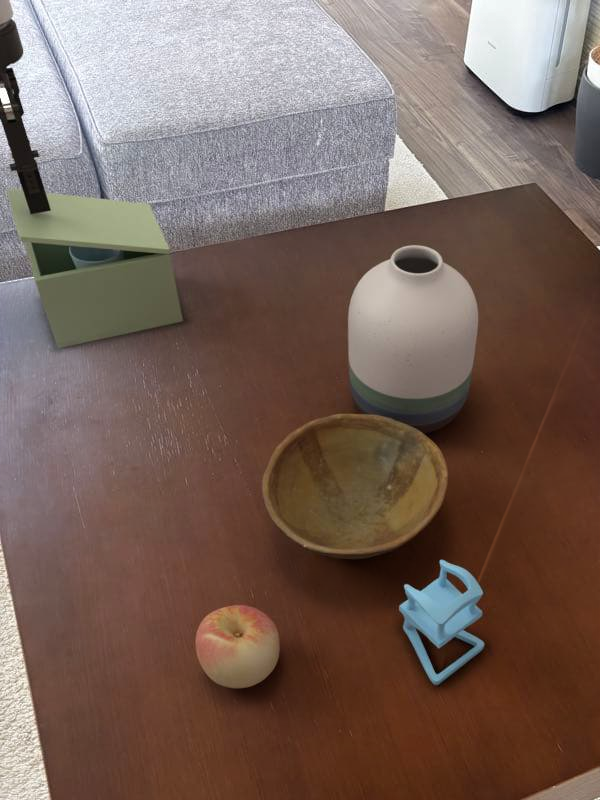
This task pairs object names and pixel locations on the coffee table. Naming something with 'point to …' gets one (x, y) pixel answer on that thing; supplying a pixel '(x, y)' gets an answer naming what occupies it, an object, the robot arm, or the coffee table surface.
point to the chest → (103, 293)
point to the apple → (237, 646)
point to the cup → (94, 256)
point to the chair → (443, 616)
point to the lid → (89, 223)
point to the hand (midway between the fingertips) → (40, 209)
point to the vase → (412, 339)
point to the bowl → (354, 485)
